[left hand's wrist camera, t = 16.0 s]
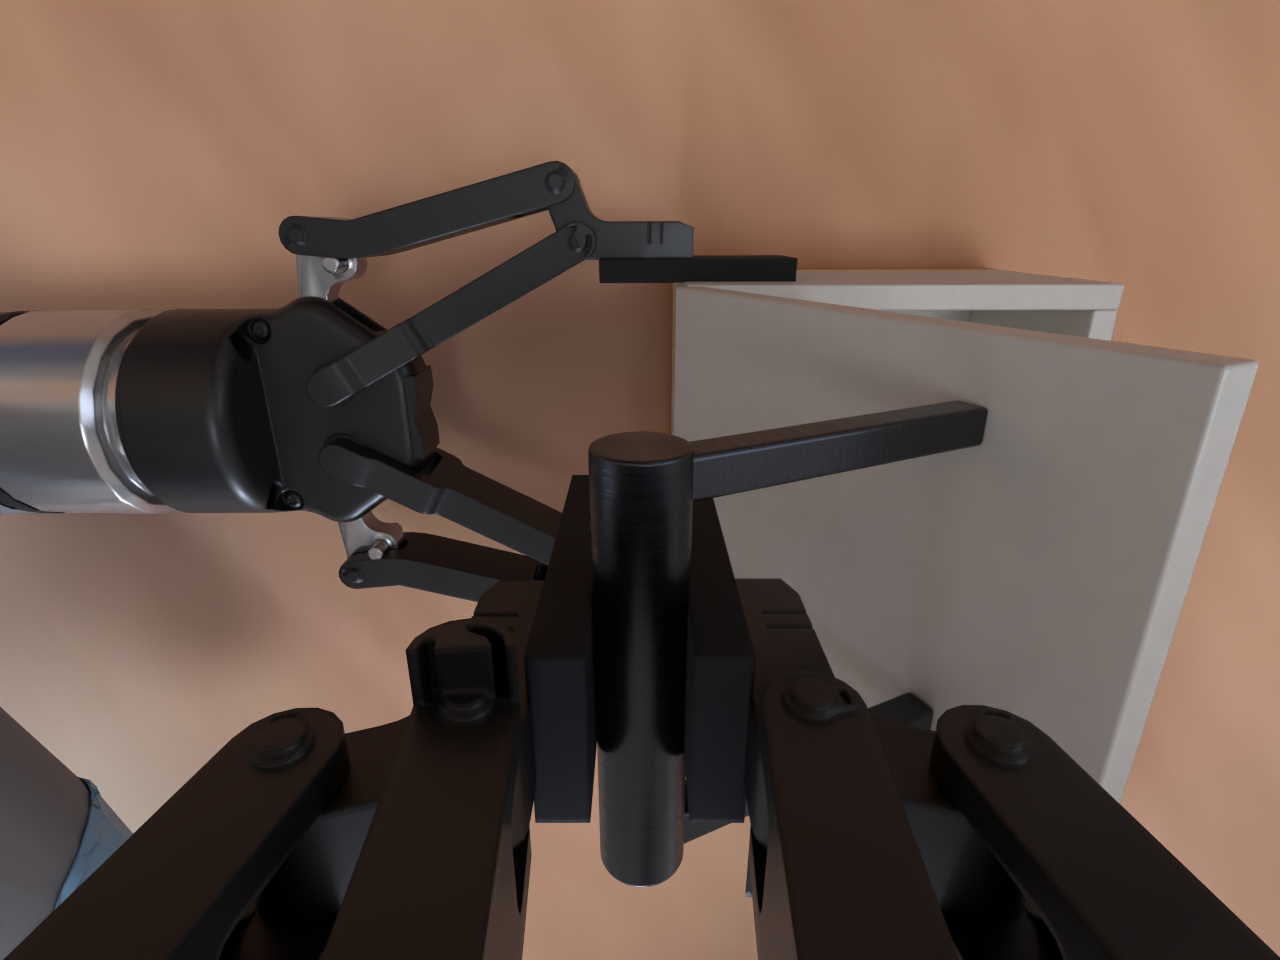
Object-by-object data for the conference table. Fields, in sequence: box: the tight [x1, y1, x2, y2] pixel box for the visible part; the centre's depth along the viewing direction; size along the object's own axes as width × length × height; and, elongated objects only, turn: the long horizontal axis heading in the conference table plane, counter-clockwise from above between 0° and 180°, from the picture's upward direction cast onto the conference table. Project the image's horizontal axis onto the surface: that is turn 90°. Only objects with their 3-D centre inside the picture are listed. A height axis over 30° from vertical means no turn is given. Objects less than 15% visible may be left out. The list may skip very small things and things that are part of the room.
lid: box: [588, 286, 1258, 887], centre depth 15 cm, size 14×10×8 cm
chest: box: [671, 268, 1124, 435], centre depth 27 cm, size 14×10×9 cm
